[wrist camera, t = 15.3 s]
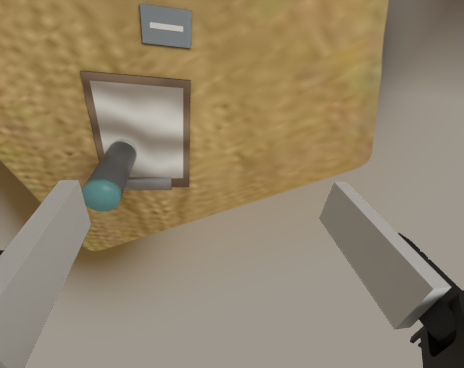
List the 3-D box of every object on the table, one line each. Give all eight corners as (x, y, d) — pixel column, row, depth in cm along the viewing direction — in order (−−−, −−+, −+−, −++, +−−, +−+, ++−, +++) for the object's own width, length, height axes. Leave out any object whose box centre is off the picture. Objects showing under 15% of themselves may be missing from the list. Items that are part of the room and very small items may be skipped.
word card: (140, 3, 28) (139, 3, 28) (191, 11, 29) (191, 10, 29) (143, 42, 30) (142, 42, 30) (191, 47, 32) (191, 48, 31)
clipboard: (81, 70, 31) (76, 73, 30) (190, 80, 34) (190, 82, 32) (105, 184, 41) (102, 191, 39) (188, 185, 44) (188, 190, 42)
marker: (107, 138, 36) (76, 183, 26) (136, 139, 36) (116, 183, 26) (112, 161, 38) (85, 211, 28) (138, 162, 39) (121, 211, 29)
